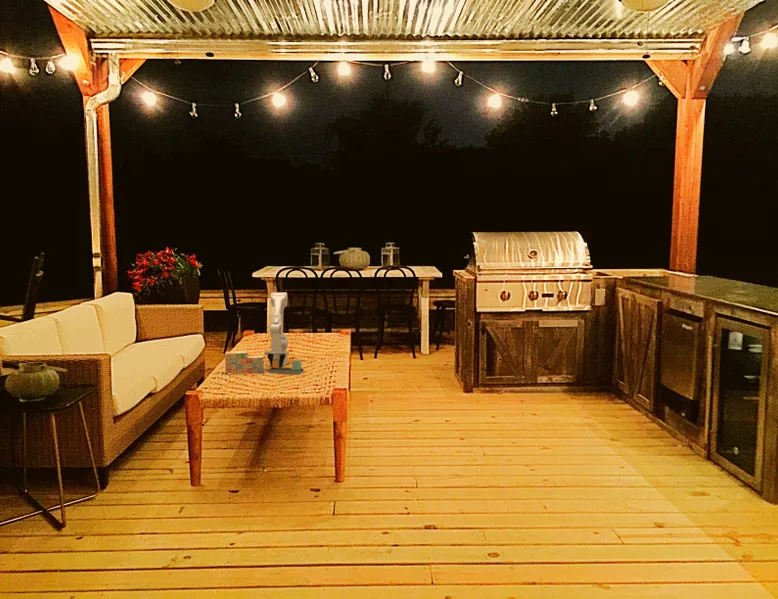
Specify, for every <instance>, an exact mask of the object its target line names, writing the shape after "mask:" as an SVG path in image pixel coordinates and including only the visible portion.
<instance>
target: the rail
mask: <svg viewBox="0 0 778 599" xmlns="http://www.w3.org/2000/svg"><path fill="white" fill-rule="evenodd" d="M267 371H268V374H269V373H283V374H282V375H299V374H301V373H302V374H303V373H304V371H305V370H304V368H302V360H301V359H294V360H293V361H291V367H281V368H272V367H270V368H269V369H268V370H267Z"/></svg>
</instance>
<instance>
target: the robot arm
mask: <svg viewBox="0 0 778 599" xmlns="http://www.w3.org/2000/svg"><path fill="white" fill-rule="evenodd" d="M270 302H271V303H270V304H271V305H272V307H273V309H274V312H273V314H271V324H270V326H269V332H270V337H271V338H270V349H271V350H264V352H263V353H264V354H263V356H264V355H265V356H266V355H267V356H266V357H267V358H268V362H269V364H270V366H271V367H270V368H272V360H273V359H280V367H281V368H283V366H285V365H286V364H288V363H289V361H288V356H289V355H290V351H288V350H287V349H288V346H289V345H288V343H289V342H288V337H287V335H286V334H285V333H284V310H285V308H286V307H287V306H288V293H287V292H286V291H285V292H271V293H270Z"/></svg>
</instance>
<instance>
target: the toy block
mask: <svg viewBox="0 0 778 599" xmlns="http://www.w3.org/2000/svg"><path fill="white" fill-rule="evenodd" d="M271 368H282V367H280V359H274V358H273V360H272V367H271Z"/></svg>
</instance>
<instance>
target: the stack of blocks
mask: <svg viewBox="0 0 778 599" xmlns="http://www.w3.org/2000/svg"><path fill="white" fill-rule="evenodd" d="M224 358H225V361H224V362H225V374H226V373H250V374H262V373H261V372H264V371H265V368H264V367H265V366H264V354H263V355H248V350H237V351H225V354H224Z"/></svg>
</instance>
